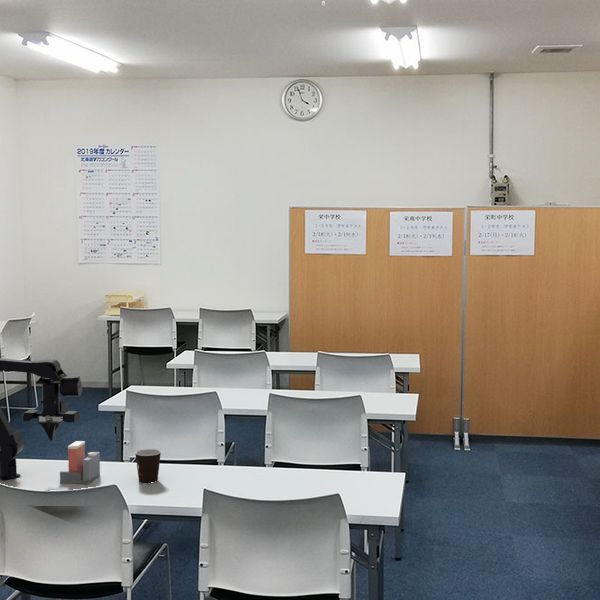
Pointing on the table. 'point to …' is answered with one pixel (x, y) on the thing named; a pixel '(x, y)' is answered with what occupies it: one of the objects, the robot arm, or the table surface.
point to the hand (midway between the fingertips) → (51, 440)
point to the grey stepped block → (89, 471)
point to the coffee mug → (148, 465)
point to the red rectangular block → (76, 456)
